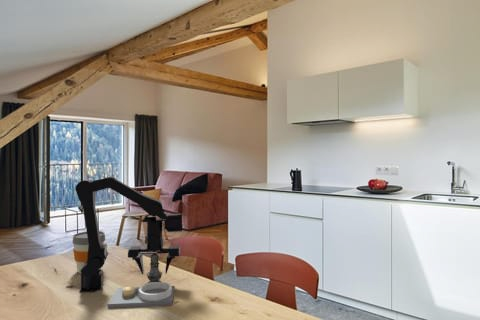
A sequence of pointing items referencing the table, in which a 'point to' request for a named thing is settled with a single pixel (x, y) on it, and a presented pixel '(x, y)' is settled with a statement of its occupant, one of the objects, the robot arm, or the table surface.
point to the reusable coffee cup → (83, 248)
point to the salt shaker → (154, 270)
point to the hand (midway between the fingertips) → (154, 273)
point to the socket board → (137, 300)
